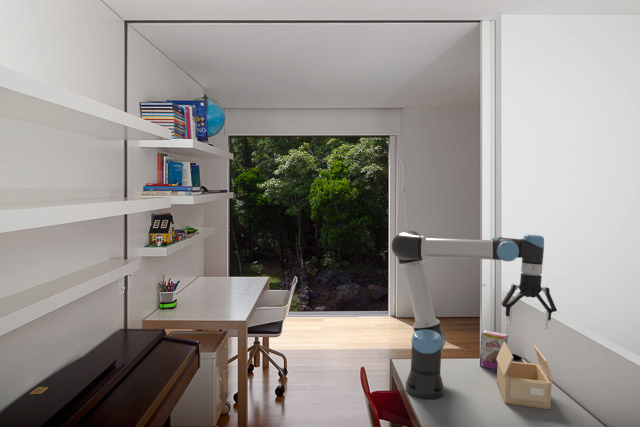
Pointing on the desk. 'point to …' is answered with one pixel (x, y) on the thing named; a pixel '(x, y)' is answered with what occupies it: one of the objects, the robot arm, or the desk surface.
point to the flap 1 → (504, 358)
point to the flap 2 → (543, 363)
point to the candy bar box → (491, 348)
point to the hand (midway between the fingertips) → (527, 326)
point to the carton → (525, 385)
